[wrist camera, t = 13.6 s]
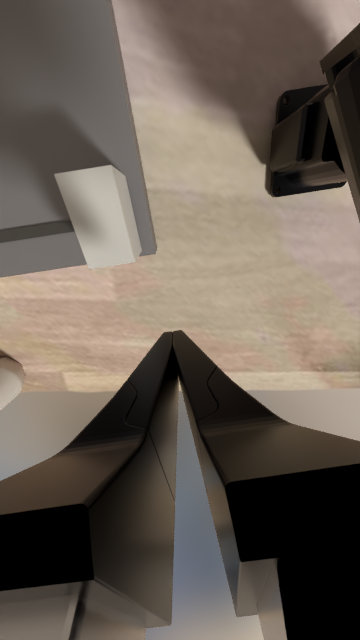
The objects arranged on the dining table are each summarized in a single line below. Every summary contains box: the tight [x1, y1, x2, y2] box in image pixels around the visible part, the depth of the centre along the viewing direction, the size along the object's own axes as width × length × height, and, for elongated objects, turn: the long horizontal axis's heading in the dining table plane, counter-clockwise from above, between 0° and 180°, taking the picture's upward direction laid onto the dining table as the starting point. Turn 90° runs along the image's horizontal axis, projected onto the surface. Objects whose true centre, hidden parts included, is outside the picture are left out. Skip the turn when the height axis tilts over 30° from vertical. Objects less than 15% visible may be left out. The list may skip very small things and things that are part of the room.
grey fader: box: [54, 165, 142, 269], centre depth 13 cm, size 3×5×4 cm, turn 7°
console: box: [0, 0, 157, 277], centre depth 14 cm, size 16×18×3 cm
